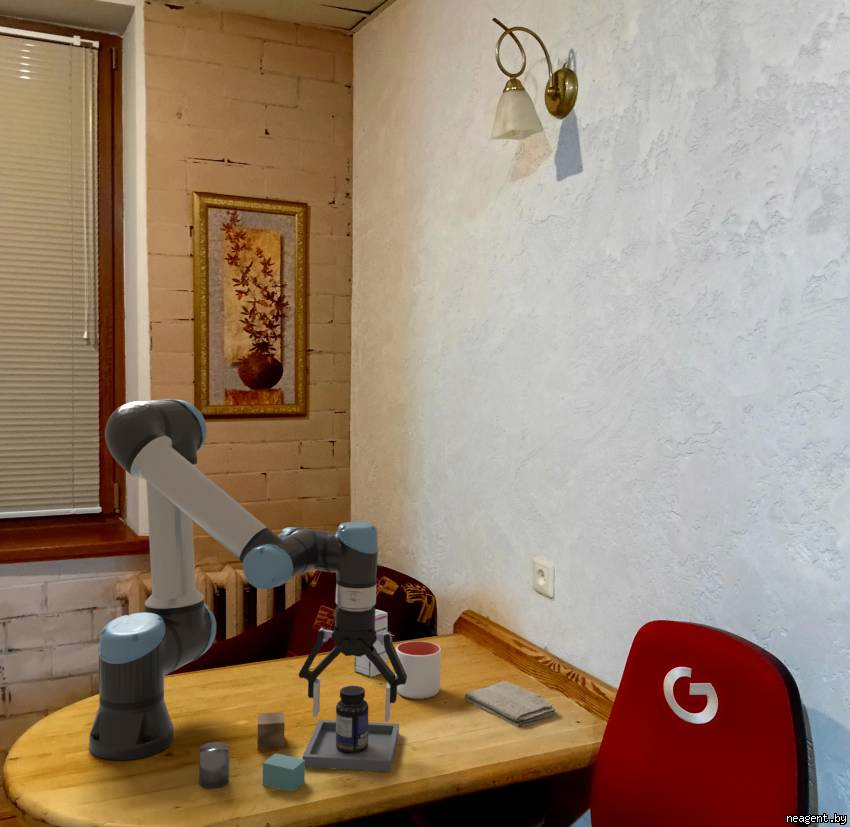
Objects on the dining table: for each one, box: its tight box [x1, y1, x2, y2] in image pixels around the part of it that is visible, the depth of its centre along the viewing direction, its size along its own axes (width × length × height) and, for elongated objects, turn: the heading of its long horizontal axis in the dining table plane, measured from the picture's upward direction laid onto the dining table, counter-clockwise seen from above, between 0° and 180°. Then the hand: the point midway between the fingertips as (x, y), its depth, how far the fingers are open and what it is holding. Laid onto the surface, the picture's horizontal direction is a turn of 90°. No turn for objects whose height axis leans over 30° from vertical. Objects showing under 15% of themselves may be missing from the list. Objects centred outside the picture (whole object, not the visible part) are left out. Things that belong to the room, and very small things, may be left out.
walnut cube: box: [257, 711, 286, 751], centre depth 165 cm, size 5×5×5 cm
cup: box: [394, 640, 442, 700], centre depth 192 cm, size 10×10×10 cm
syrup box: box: [353, 609, 388, 678], centre depth 203 cm, size 6×6×14 cm
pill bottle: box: [335, 685, 369, 753], centre depth 163 cm, size 6×6×11 cm
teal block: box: [262, 753, 306, 792], centre depth 150 cm, size 6×4×4 cm, turn 68°
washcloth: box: [463, 681, 557, 728], centre depth 185 cm, size 12×18×3 cm, turn 38°
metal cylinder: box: [198, 741, 230, 790], centre depth 149 cm, size 5×5×6 cm
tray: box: [301, 719, 400, 773], centre depth 163 cm, size 16×16×2 cm
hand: (351, 716), depth 163 cm, fingers open, 13 cm apart
